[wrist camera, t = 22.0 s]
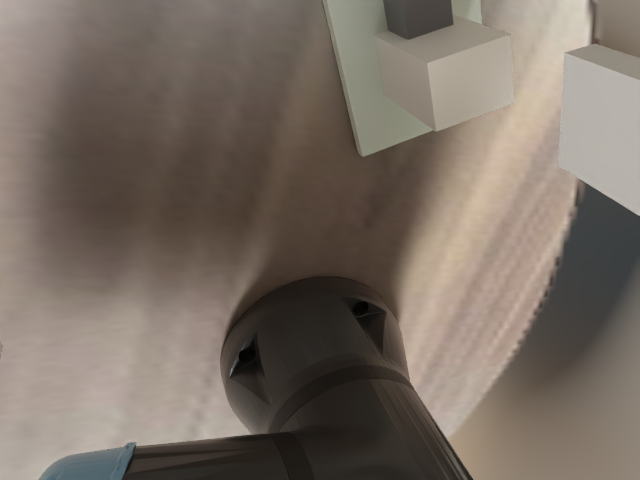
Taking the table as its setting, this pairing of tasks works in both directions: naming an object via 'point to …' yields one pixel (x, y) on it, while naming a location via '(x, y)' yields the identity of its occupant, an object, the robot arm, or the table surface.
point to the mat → (373, 72)
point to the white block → (443, 63)
